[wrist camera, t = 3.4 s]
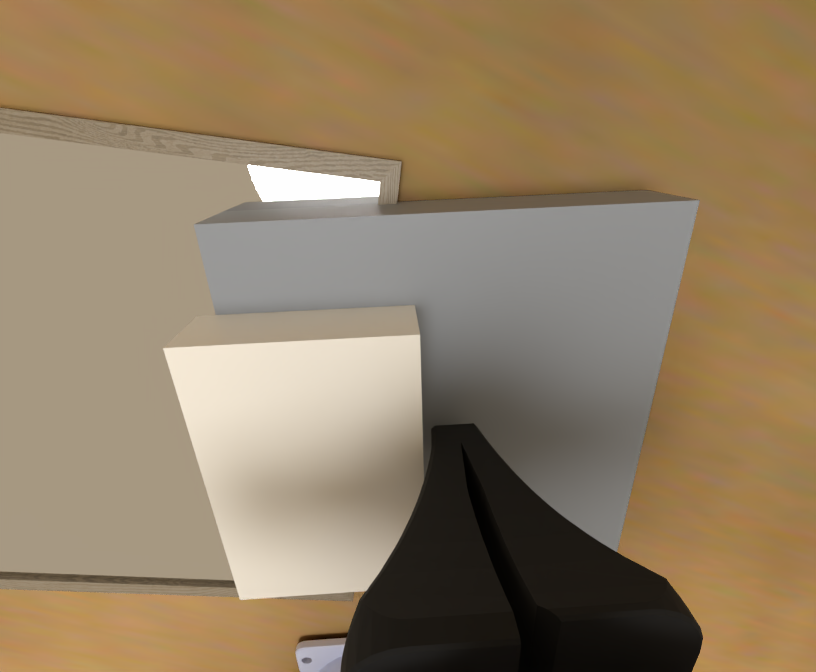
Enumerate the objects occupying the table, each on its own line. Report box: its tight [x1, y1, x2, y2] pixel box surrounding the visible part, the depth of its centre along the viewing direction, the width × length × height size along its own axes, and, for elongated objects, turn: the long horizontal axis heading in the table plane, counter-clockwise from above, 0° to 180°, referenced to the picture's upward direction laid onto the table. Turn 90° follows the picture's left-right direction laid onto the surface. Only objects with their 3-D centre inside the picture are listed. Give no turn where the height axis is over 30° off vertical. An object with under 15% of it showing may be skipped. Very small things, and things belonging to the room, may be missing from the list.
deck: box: [194, 190, 700, 552], centre depth 15 cm, size 14×13×2 cm
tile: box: [163, 305, 424, 600], centre depth 13 cm, size 9×6×2 cm, turn 2°
